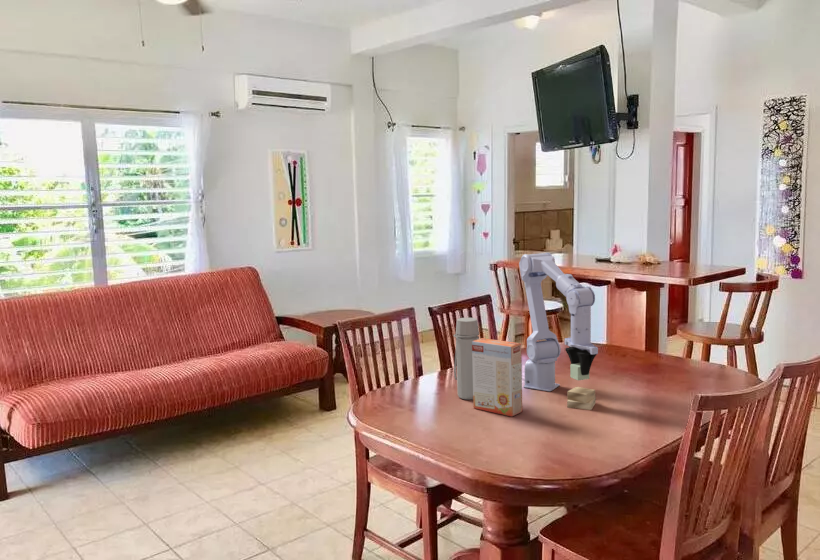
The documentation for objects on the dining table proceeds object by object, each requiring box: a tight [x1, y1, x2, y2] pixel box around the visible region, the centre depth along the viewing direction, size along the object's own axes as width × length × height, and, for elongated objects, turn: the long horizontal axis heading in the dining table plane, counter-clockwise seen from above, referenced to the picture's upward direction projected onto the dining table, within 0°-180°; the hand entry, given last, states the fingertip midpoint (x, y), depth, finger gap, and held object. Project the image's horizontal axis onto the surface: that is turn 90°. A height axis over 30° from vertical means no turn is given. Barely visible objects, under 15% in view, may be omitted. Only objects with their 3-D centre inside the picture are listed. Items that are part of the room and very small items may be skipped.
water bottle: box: [453, 317, 480, 401], centre depth 212 cm, size 9×8×25 cm
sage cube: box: [569, 363, 590, 381], centre depth 201 cm, size 4×4×4 cm
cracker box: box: [472, 337, 523, 417], centre depth 198 cm, size 14×6×21 cm, turn 48°
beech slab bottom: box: [566, 397, 596, 411], centre depth 202 cm, size 7×7×2 cm
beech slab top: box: [566, 386, 596, 403], centre depth 201 cm, size 6×6×2 cm
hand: (580, 372), depth 201 cm, fingers closed on sage cube, 4 cm apart
